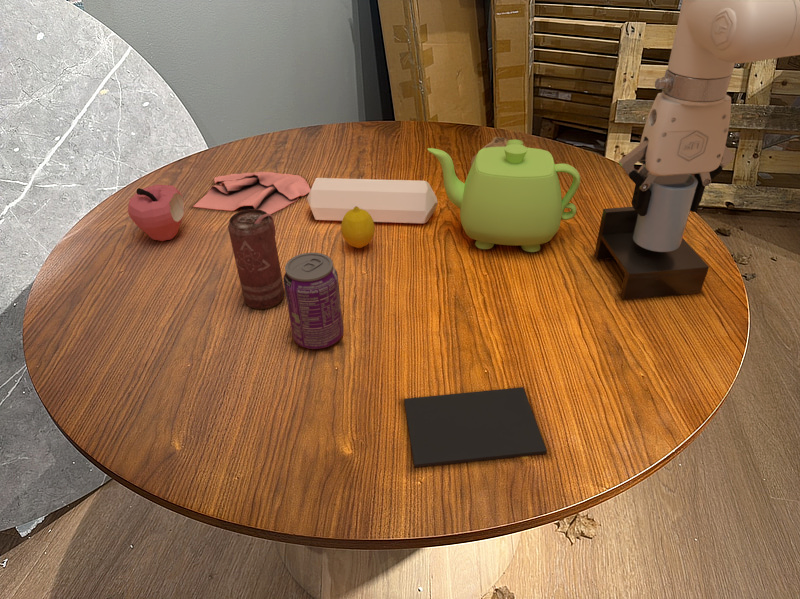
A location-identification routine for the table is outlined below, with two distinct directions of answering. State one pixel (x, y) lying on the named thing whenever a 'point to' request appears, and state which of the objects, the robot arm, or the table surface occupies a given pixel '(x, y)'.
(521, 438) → the mat
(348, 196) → the crystal
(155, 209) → the apple
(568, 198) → the teapot
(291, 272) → the beverage can
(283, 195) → the cloth
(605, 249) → the shelf
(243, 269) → the can
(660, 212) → the blue cup
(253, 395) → the table surface
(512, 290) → the table surface
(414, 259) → the table surface
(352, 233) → the fruit
